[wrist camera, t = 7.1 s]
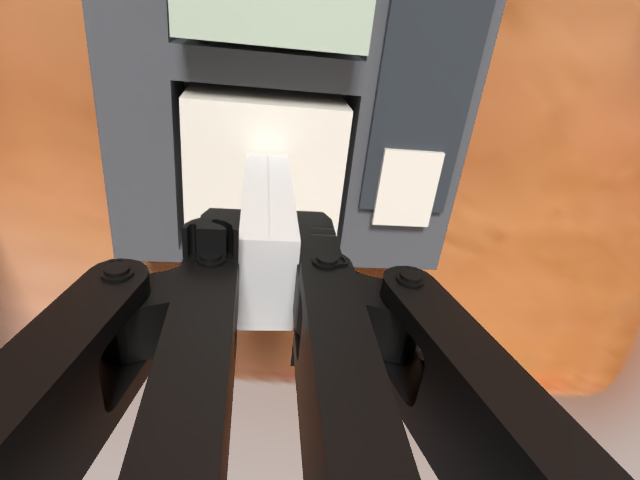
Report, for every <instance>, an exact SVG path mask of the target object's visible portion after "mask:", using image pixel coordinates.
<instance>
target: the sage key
mask: <svg viewBox="0 0 640 480" xmlns="http://www.w3.org/2000/svg"><path fill="white" fill-rule="evenodd" d="M375 5H376V0H168V10H169V30H170V37H176V38H186V39H197V40H207V41H217V42H228V43H238V44H248V45H259V46H269V47H279V48H290V49H300V50H310V51H321V52H331V53H341V54H352V55H362V56H368V55H369V47H370V40H371V33H372V26H373V19H374V12H375Z"/></svg>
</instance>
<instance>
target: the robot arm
mask: <svg viewBox="0 0 640 480" xmlns="http://www.w3.org/2000/svg"><path fill="white" fill-rule="evenodd" d="M181 231H182V253H183V259H182V263H181V266H179V267H177V268H174V269H172V270H168V271H164V272H158V273H152V274H149V271H148V268H147V266H146V265H145V264H143V263H142V262H140V261H137V260H133V259H123V258H118V259H111V260H108V261H105V262H102V263H99V264H97V265H95V266H93V267H92V268H90V269H89V270H88V271H87V272H86V273H84V274H83V275H82V276H81V277H80V278H79V279H78V280H77V281H76V282H74V283H73V284H72V285H71V286H70V287H69V288H68V289H67V290H65V291H64V292H63V293H62V294H61V295H60V296H59V297H58V298H57V299H55V300H54V301H53V302H52V303H51V304H50V305H49V306H48V307H47V308H45V309H44V310H43V311H42V312H41V313H40V314H39V315H38V316H37V317H35V318H34V319H33V320H32V321H31V322H30V323H29V324H28V325H27V326H25V327H24V328H23V329H22V330H21V331H20V332H19V333H18V334H17V335H15V336H14V337H13V338H12V339H11V340H10V341H9V342H8V343H6V344H5V345H4V346H3V347H2V348H1V349H0V480H82V479H83V477H84V476H85V474H86V473H87V471H88V469H89V468H90V466H91V465H92V463H93V461H94V460H95V458H96V457H97V455H98V454H99V452H100V451H101V449H102V448H103V446H104V444H105V443H106V441H107V440H108V438H109V437H110V435H111V433H112V432H113V430H114V429H115V427H116V426H117V424H118V422H119V421H120V419H121V418H122V416H123V415H124V413H125V411H126V410H127V408H128V407H129V405H130V404H131V402H132V401H133V399H134V397H135V396H136V394H137V393H138V391H139V390H140V388H141V386H142V385H143V383H144V382H145V380H146V379H147V377H148V379H147V383H146V386H145V389H144V393H143V396H142V399H141V403H140V406H139V410H138V413H137V417H136V420H135V424H134V427H133V430H132V434H131V437H130V440H129V444H128V448H127V451H126V454H125V457H124V461H123V464H122V468H121V471H120V475H119V479H118V480H227V470H228V455H229V442H230V441H229V440H230V428H231V415H232V401H233V387H234V373H235V359H236V345H237V330H248V331H293V322H294V337H293V347H292V358H291V366H295V377H296V390H297V403H298V416H299V429H300V442H301V454H302V467H303V479H304V480H421V479H420V476H419V472H418V470H417V466H416V463H415V460H414V457H413V453H412V450H411V447H410V444H409V441H408V438H407V435H406V431H405V428H404V425H403V422H404V423H405V425H406V427H407V428H408V430H409V431H410V433H411V435H412V437H413V438H414V440H415V441H416V443H417V445H418V446H419V448H420V450H421V451H422V453H423V455H424V456H425V458H426V460H427V461H428V463H429V465H430V466H431V468H432V469H433V471H434V473H435V474H436V476H437V478H438V479H439V480H634V479H633V478H632V477H631V476H630V475H629V474H628V473H627V472H626V471H625V470H624V469H623V468H622V467H621V466H620V465H619V464H618V463H617V462H616V461H615V460H614V459H613V458H612V457H611V456H610V455H609V454H608V453H607V452H606V451H605V450H604V449H603V448H602V447H601V446H600V445H599V444H598V443H597V442H596V441H595V440H594V439H593V438H592V437H591V436H590V434H589V433H587V431H585V430H584V429H583V428H582V426H580V424H579V423H578V422H577V421H576V420H575V419H574V418H573V417H572V416H571V415H570V414H569V413H568V412H567V411H566V410H565V409H564V408H563V407H562V406H561V405H560V404H559V403H558V402H557V401H556V400H555V399H554V398H553V397H552V396H551V395H550V394H549V393H548V392H547V391H546V390H545V389H544V388H543V387H542V386H541V385H540V384H539V383H538V382H537V381H536V380H535V379H534V378H533V377H532V376H531V375H530V374H529V373H528V372H527V371H526V370H525V369H524V368H523V367H522V366H521V365H520V364H519V363H518V362H517V361H516V360H515V359H514V358H513V357H512V356H511V355H510V354H509V353H508V352H507V351H506V350H505V349H504V348H503V347H502V346H501V345H500V344H499V343H498V342H497V341H496V340H495V339H494V338H493V337H492V336H491V335H490V334H489V333H488V332H487V331H486V330H485V329H484V328H483V327H482V326H481V325H480V324H479V323H478V322H477V321H476V320H475V319H474V318H473V317H472V316H471V315H470V314H469V313H468V312H467V311H466V310H465V309H464V308H463V307H462V306H461V305H460V304H459V303H458V302H457V301H456V300H455V299H454V298H453V297H452V296H451V295H450V294H449V293H448V292H447V291H446V290H445V289H444V288H443V287H442V286H441V285H440V283H439V282H438V281H437V280H436V279H435V278H434V277H432V276H431V275H430V274H428V273H427V272H425V271H423V270H420V269H418V268H416V267H411V266H395V267H391V268H388V269H387V270H386V271H385V272H384V275H383V279H380V278H375V277H370V276H367V275H363V274H360V273H358V272H356V271H355V270H354V267H353V264H352V262H351V261H350V259H349V258H348V257H346V256H345V255H343V254H342V253H341V250H340V246H339V243H338V239H337V236H336V233H335V229H334V226H333V222H332V219H331V218H329V217H328V216H327V215H326V214H325V213H324V212H313V211H296V205H295V198H294V191H293V184H292V177H291V170H290V164H289V157H288V155H278V154H262V153H247V156H246V166H245V176H244V185H243V195H242V205H241V209H224V208H209V209H208V210H207V211H205V212H204V213H203V214H201V217H200V218H197V219H193V220H191V221H189V222H187V223H185V224H184V225H183V227H182V228H181ZM402 420H403V422H402Z"/></svg>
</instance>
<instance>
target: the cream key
mask: <svg viewBox="0 0 640 480" xmlns="http://www.w3.org/2000/svg"><path fill="white" fill-rule="evenodd" d="M179 111H180V135H181V159H182V183H183V207H184V224H185V223H187V222H189V221H191V220H193V219H197V218H200V217H201V214H203V213H204V212H205V211H207V210H208V209H209V208H224V209H241V205H242V195H243V185H244V176H245V166H246V156H247V153H262V154H278V155H288V157H289V164H290V170H291V177H292V184H293V191H294V198H295V205H296V211H313V212H324V213H325V214H326V215H327V216H328V217H329V218H331V219H332V222H333V226H334V229H335V233H336V236H337V230H338V222H339V215H340V207H341V200H342V193H343V185H344V178H345V170H346V163H347V155H348V148H349V140H350V133H351V125H352V118H353V111H352V109H351V108H350V106H349V105H348V104H347V102H346V101H345V100H344V98H343V97H342V95H341V94H329V93H317V92H305V91H293V90H281V89H269V88H258V87H246V86H234V85H222V84H210V83H198V82H191V83H190V84H189V85H188V87H187V88H186V89H185V91H184V92H183V93H182V95H181V96H180V97H179Z"/></svg>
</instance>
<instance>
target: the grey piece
mask: <svg viewBox="0 0 640 480" xmlns="http://www.w3.org/2000/svg"><path fill="white" fill-rule="evenodd" d="M505 3H506V0H376V5H375V12H374V19H373V26H372V33H371V40H370V47H369V55H368V56H362V55H352V54H341V53H331V52H321V51H310V50H300V49H290V48H279V47H269V46H259V45H248V44H238V43H228V42H217V41H207V40H197V39H186V38H176V37H170V30H169V10H168V0H82V6H83V14H84V22H85V30H86V38H87V46H88V54H89V62H90V70H91V78H92V86H93V93H94V101H95V109H96V117H97V125H98V133H99V141H100V149H101V157H102V165H103V173H104V181H105V188H106V196H107V204H108V212H109V220H110V228H111V236H112V244H113V252H114V259H118V258H123V259H133V260H137V261H153V262H182V259H183V253H182V231H181V228H182V227H183V225H184V207H183V183H182V159H181V135H180V111H179V97H180V96H181V95H182V93H183V92H184V91H185V89H186V88H187V87H188V85H189V84H190V83H191V82H198V83H210V84H222V85H234V86H246V87H258V88H269V89H281V90H293V91H305V92H317V93H329V94H341V95H342V97H343V98H344V100H345V101H346V102H347V104H348V105H349V106H350V108H351V109H352V111H353V118H352V125H351V133H350V140H349V148H348V155H347V163H346V170H345V178H344V185H343V193H342V200H341V207H340V215H339V222H338V230H337V239H338V243H339V246H340V250H341V253H342V254H343V255H345V256H346V257H348V258H349V259H350V261H351V262H352V264H353V267H358V268H391V267H395V266H411V267H416V268H418V269H427V270H436V269H437V266H438V262H439V258H440V254H441V250H442V246H443V242H444V239H445V235H446V231H447V227H448V223H449V219H450V215H451V212H452V208H453V204H454V200H455V196H456V192H457V188H458V185H459V181H460V177H461V173H462V169H463V165H464V161H465V158H466V154H467V150H468V146H469V142H470V138H471V134H472V131H473V127H474V123H475V119H476V115H477V111H478V107H479V104H480V100H481V96H482V92H483V88H484V84H485V80H486V77H487V73H488V69H489V65H490V61H491V57H492V53H493V49H494V46H495V42H496V38H497V34H498V30H499V26H500V22H501V19H502V15H503V11H504V7H505Z"/></svg>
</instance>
